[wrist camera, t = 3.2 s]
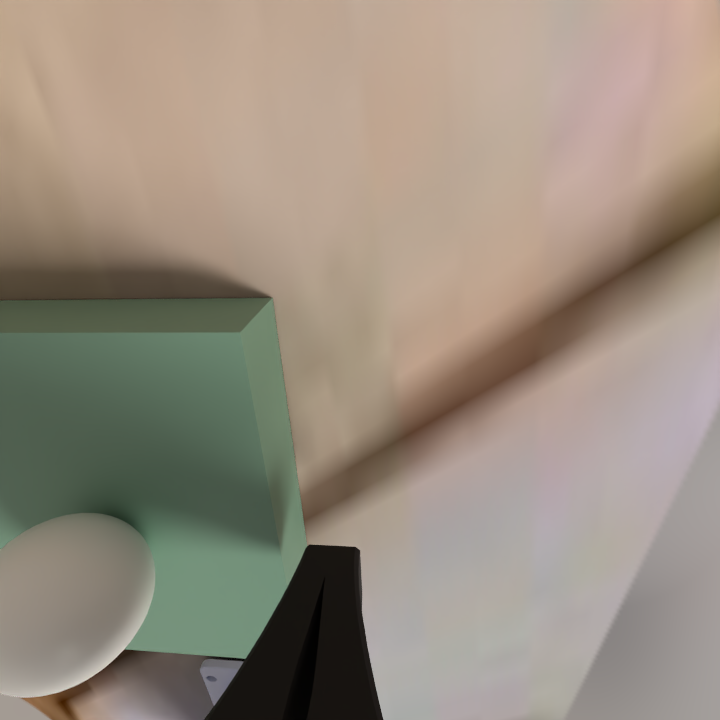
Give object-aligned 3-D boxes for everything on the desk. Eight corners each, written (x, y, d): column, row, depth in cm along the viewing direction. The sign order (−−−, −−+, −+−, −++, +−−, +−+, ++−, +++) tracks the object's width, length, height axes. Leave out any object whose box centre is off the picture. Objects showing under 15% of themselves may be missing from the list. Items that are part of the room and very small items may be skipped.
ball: (195, 577, 13) (115, 739, 9) (79, 571, 13) (-41, 725, 9) (163, 483, 11) (48, 639, 7) (29, 479, 11) (-141, 624, 8)
